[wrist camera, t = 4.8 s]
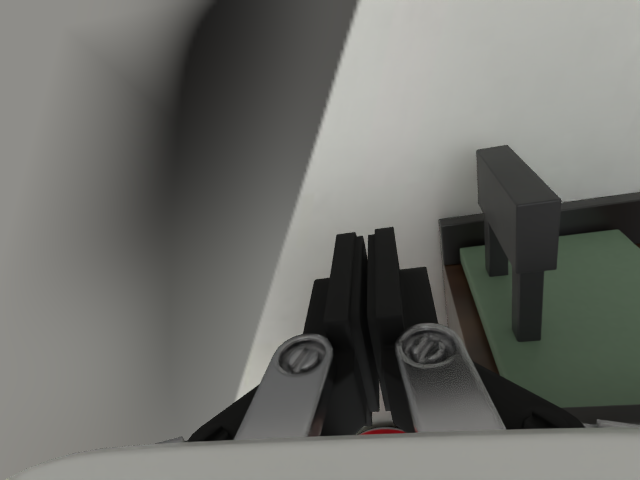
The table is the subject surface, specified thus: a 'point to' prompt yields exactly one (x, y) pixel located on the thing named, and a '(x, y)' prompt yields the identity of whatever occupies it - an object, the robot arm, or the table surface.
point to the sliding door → (553, 292)
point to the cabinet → (575, 218)
